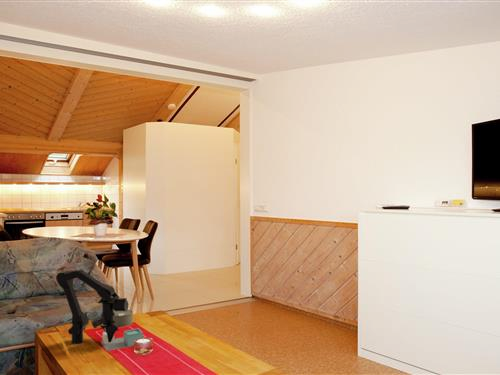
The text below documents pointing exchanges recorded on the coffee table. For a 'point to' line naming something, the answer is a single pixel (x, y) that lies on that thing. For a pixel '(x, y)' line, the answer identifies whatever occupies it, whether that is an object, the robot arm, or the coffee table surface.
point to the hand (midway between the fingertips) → (108, 340)
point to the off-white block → (105, 339)
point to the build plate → (115, 345)
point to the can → (123, 318)
